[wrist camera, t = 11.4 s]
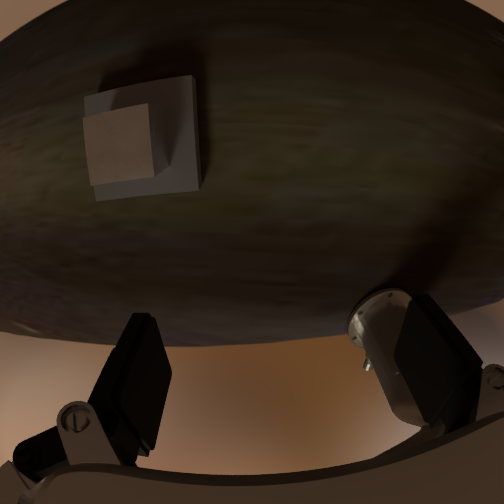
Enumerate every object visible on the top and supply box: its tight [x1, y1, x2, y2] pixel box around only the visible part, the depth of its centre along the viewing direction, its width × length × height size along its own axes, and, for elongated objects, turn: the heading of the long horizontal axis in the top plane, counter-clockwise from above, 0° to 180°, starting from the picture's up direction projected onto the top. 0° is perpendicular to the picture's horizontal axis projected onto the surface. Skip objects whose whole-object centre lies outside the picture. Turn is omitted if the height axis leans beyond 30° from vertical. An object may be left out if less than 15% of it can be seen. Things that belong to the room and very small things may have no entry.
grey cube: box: [83, 103, 170, 186], centre depth 25 cm, size 7×7×6 cm
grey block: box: [84, 75, 202, 201], centre depth 27 cm, size 13×13×7 cm
